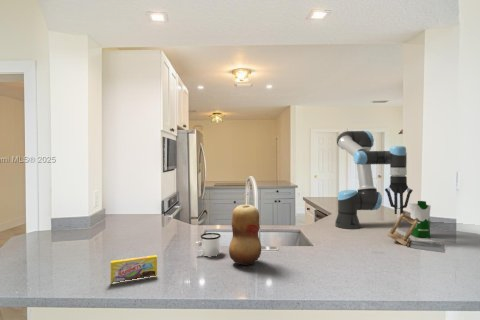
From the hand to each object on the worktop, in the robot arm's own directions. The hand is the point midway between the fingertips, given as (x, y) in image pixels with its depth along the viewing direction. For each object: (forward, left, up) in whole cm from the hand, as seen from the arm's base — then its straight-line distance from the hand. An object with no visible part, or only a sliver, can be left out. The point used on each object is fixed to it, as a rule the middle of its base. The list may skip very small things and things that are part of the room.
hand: (398, 220), depth 148 cm
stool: (-1, 0, -10) cm, 10 cm away
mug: (-72, -69, -12) cm, 100 cm away
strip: (+4, 0, -12) cm, 12 cm away
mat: (+12, 0, -12) cm, 17 cm away
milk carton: (+9, +20, -12) cm, 25 cm away
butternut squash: (-51, -69, -12) cm, 87 cm away
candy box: (-77, -105, -12) cm, 131 cm away
